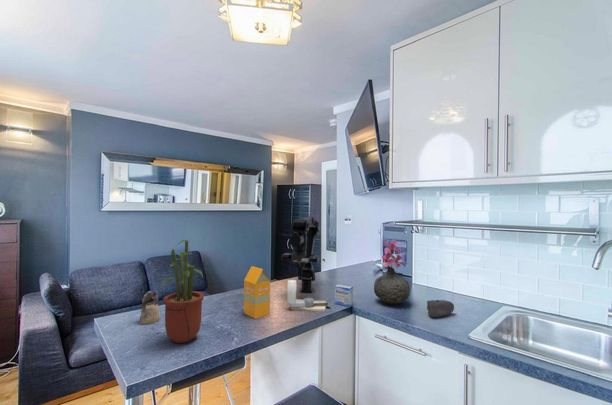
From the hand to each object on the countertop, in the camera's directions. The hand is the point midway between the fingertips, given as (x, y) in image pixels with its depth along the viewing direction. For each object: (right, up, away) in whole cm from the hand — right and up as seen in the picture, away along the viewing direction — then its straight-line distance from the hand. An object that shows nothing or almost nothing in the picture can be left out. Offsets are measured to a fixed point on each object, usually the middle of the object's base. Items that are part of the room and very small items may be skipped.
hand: (300, 274), depth 148 cm
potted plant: (-42, -11, -45) cm, 63 cm away
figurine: (-60, -11, -31) cm, 68 cm away
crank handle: (+4, -11, -14) cm, 18 cm away
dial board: (+6, -12, -11) cm, 17 cm away
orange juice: (-19, -12, -21) cm, 31 cm away
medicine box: (+21, -13, -7) cm, 26 cm away
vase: (+45, -13, -5) cm, 47 cm away
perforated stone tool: (+62, -13, -20) cm, 67 cm away
